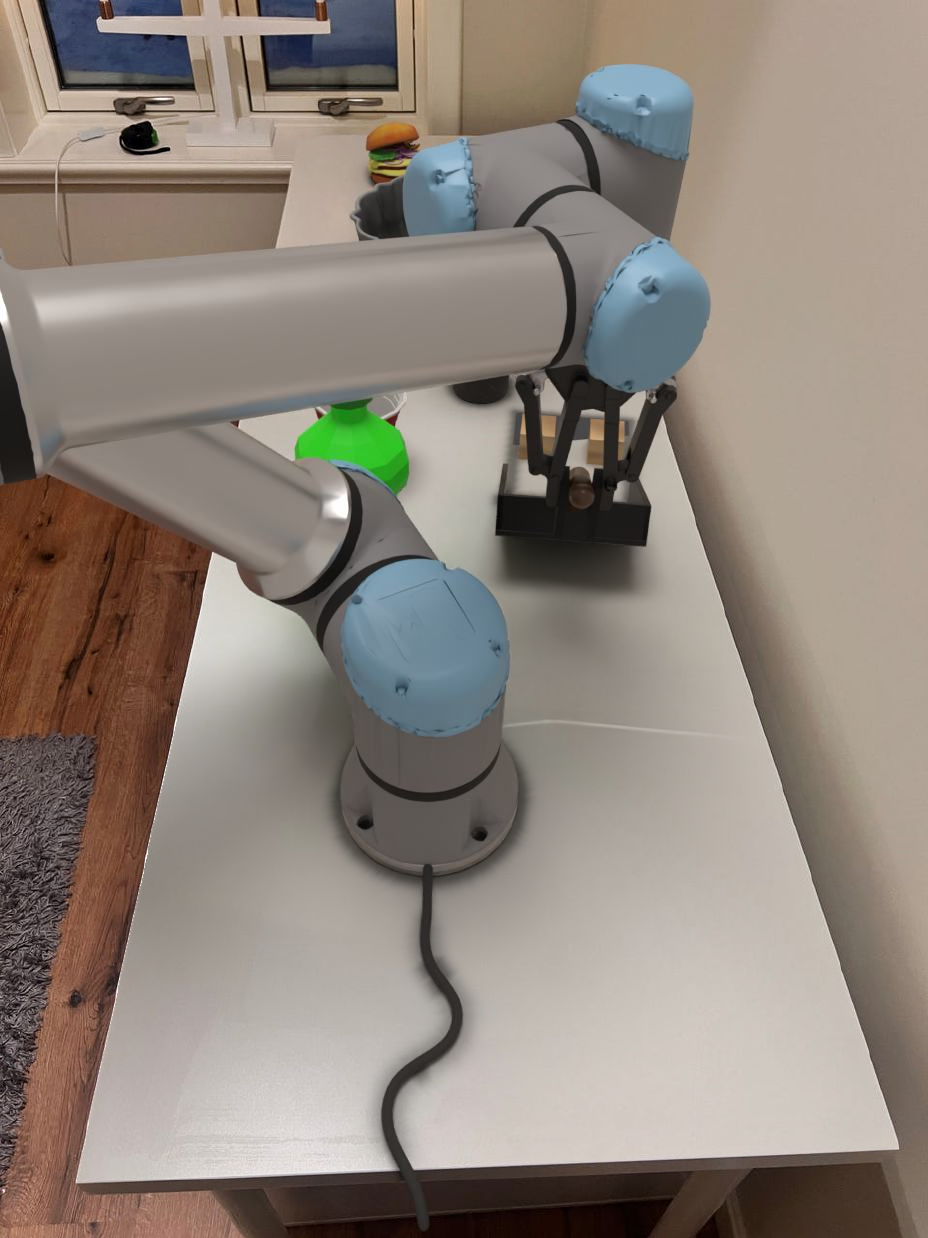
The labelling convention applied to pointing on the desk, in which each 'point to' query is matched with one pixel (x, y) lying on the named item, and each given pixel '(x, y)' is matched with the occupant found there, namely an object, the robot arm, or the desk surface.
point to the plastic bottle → (358, 442)
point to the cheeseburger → (391, 150)
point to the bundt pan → (381, 212)
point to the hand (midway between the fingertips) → (574, 530)
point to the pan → (574, 514)
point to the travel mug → (483, 389)
